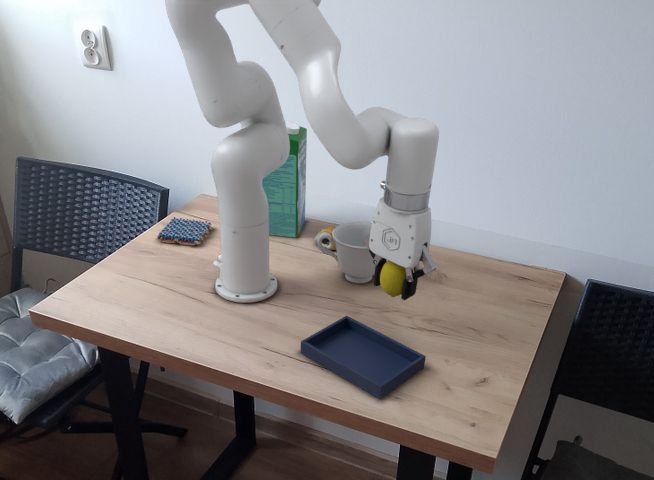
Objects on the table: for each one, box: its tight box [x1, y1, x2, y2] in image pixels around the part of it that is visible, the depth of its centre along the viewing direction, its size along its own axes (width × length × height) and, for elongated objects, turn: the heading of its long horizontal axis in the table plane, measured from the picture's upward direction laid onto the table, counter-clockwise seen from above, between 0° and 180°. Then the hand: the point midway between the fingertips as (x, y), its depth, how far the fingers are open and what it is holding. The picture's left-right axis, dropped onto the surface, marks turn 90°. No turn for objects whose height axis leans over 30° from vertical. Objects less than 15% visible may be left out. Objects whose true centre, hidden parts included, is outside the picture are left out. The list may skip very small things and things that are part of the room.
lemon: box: [380, 260, 407, 298], centre depth 125 cm, size 6×6×8 cm
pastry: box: [314, 226, 337, 251], centre depth 160 cm, size 9×7×4 cm
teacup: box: [317, 220, 375, 284], centre depth 145 cm, size 12×15×10 cm
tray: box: [300, 315, 427, 400], centre depth 123 cm, size 18×12×3 cm
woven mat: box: [156, 216, 213, 246], centre depth 162 cm, size 10×11×2 cm
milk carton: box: [262, 120, 308, 239], centre depth 160 cm, size 9×9×25 cm
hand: (394, 289), depth 127 cm, fingers closed on lemon, 5 cm apart
